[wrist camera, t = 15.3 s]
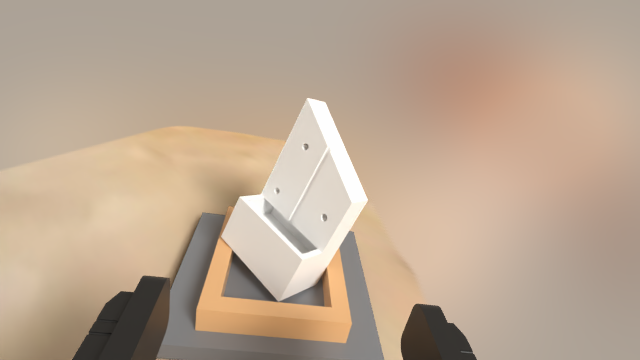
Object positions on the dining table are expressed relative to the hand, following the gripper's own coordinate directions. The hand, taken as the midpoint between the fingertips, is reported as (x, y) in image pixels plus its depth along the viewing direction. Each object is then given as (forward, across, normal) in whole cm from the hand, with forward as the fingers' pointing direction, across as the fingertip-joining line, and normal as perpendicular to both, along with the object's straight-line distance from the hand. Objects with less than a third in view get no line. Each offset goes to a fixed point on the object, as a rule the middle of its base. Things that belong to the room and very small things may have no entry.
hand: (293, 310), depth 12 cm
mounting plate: (+10, 0, +8) cm, 13 cm away
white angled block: (+10, +1, +6) cm, 12 cm away
